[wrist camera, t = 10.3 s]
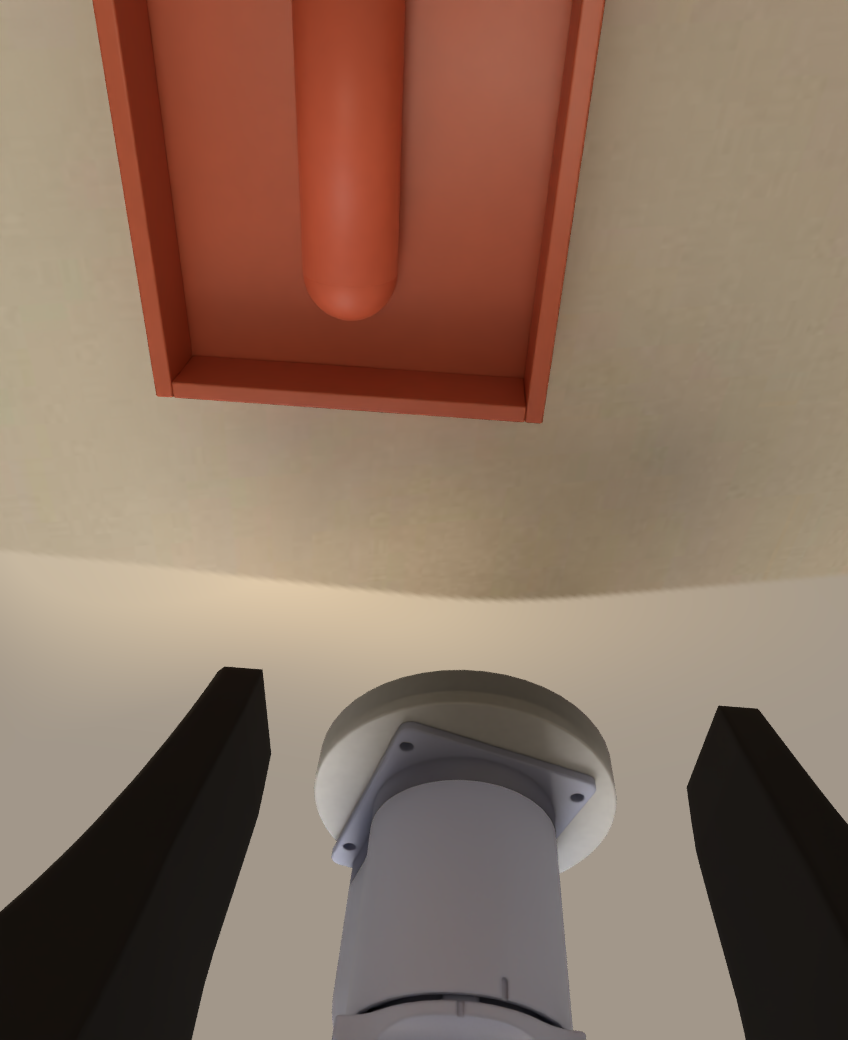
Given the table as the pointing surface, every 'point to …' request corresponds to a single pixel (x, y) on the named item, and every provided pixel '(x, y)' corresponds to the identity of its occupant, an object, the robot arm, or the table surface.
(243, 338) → the red tray
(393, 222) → the red spoon
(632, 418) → the table surface
